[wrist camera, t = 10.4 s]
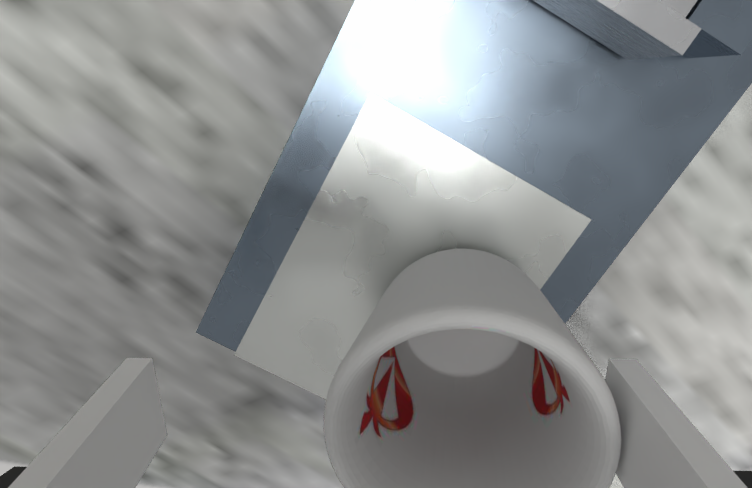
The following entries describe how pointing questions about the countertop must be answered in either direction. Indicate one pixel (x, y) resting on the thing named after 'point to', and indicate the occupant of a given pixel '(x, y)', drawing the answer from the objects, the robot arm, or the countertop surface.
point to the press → (464, 164)
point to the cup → (469, 387)
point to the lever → (631, 24)
